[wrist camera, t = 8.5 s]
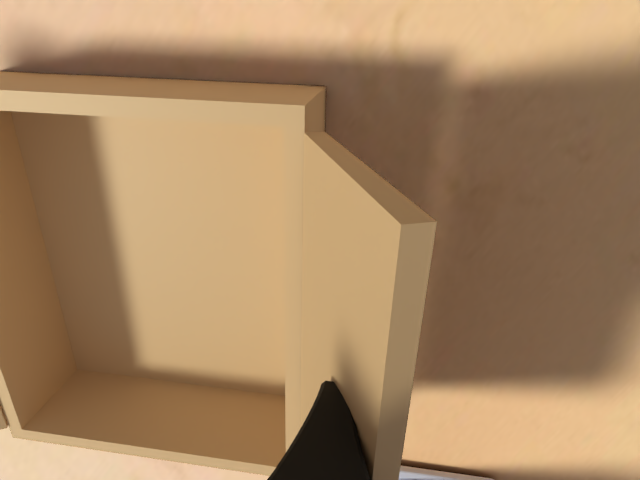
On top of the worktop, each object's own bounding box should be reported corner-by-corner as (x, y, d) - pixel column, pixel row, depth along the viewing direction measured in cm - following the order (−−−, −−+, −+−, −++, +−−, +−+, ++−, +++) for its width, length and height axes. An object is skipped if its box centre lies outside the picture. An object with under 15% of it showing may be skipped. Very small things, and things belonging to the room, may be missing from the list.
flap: (350, 671, 13) (370, 665, 13) (400, 224, 7) (437, 221, 7) (299, 470, 18) (314, 467, 18) (304, 132, 13) (325, 131, 13)
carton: (316, 400, 23) (300, 480, 19) (75, 369, 24) (12, 437, 20) (326, 86, 16) (304, 105, 12) (-2, 71, 18) (-117, 83, 14)
